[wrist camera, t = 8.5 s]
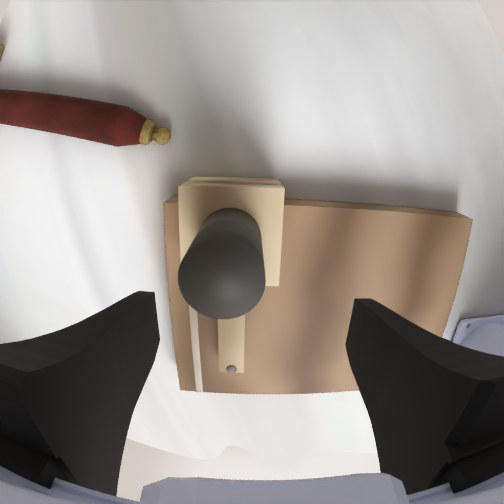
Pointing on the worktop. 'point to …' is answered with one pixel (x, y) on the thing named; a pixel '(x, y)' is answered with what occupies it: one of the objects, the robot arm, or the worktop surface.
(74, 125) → the gavel
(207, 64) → the worktop surface
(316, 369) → the board
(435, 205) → the worktop surface
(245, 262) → the rubber stamp
